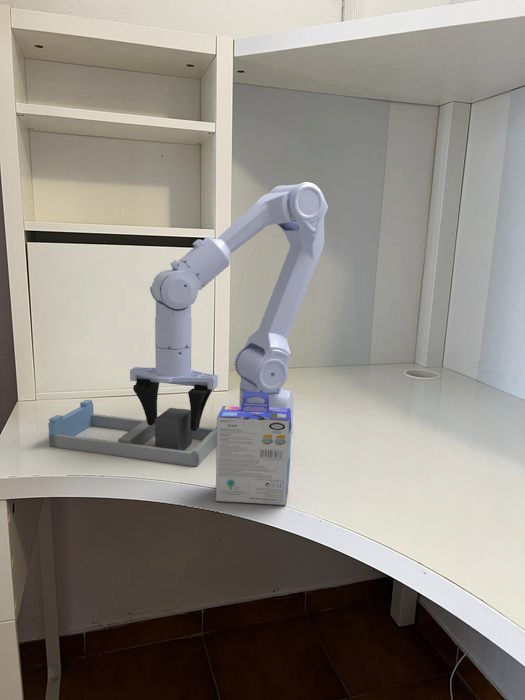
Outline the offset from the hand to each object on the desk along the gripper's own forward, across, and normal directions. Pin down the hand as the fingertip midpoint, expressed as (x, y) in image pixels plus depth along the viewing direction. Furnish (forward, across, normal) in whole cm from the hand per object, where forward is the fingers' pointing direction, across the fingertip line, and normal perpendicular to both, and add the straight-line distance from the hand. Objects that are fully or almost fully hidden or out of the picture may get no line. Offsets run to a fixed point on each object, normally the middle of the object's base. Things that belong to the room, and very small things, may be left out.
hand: (173, 426), depth 91 cm
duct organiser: (+4, -7, 0) cm, 8 cm away
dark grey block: (+4, 0, 0) cm, 4 cm away
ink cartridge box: (+4, +17, -12) cm, 21 cm away
